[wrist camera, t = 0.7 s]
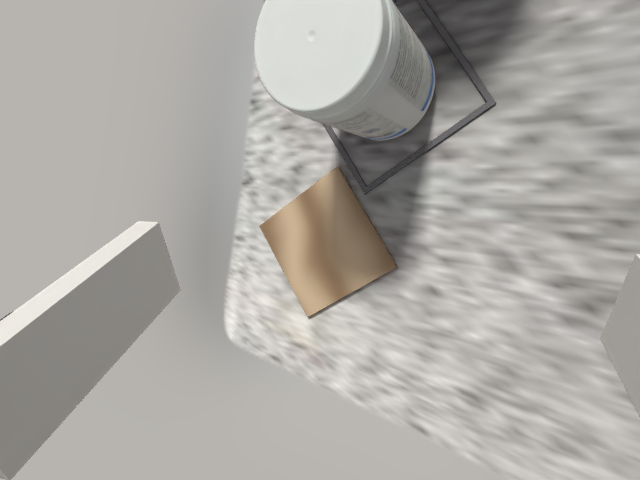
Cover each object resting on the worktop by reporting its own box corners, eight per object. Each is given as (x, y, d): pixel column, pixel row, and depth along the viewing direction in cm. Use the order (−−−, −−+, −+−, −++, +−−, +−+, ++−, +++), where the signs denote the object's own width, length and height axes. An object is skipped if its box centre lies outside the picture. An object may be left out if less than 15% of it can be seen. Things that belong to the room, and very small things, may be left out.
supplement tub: (382, 19, 36) (304, -83, 23) (461, 74, 33) (422, -6, 20) (324, 107, 40) (228, 62, 27) (390, 163, 37) (319, 144, 24)
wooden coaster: (338, 166, 40) (337, 166, 39) (397, 267, 38) (396, 267, 37) (261, 225, 45) (259, 226, 45) (309, 316, 43) (307, 317, 43)
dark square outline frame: (410, -21, 34) (410, -21, 34) (496, 103, 32) (496, 102, 32) (300, 84, 41) (299, 84, 41) (365, 193, 38) (364, 193, 38)
